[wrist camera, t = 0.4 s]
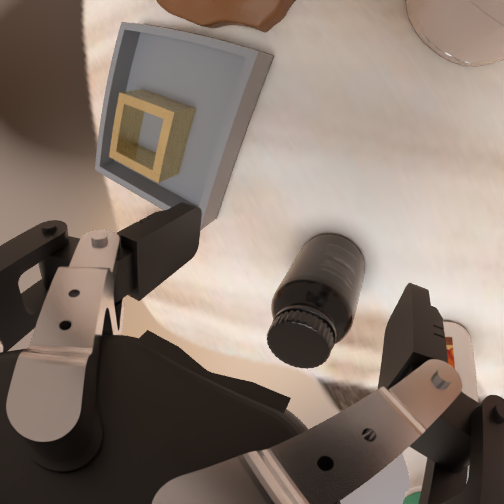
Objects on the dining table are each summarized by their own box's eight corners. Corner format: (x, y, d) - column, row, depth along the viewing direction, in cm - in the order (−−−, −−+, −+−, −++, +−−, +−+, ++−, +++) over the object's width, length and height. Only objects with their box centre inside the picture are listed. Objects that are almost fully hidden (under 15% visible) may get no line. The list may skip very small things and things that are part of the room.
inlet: (142, 89, 29) (119, 92, 26) (196, 108, 28) (174, 112, 25) (130, 149, 33) (109, 156, 31) (179, 173, 32) (158, 183, 30)
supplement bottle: (288, 245, 32) (235, 318, 23) (347, 221, 28) (318, 296, 19) (317, 299, 34) (280, 381, 24) (375, 281, 30) (358, 371, 20)
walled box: (143, 24, 26) (121, 22, 23) (273, 55, 24) (258, 51, 21) (114, 162, 37) (95, 169, 34) (216, 217, 34) (199, 231, 31)
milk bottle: (474, 316, 26) (488, 496, 11) (466, 365, 29) (461, 523, 13) (408, 320, 30) (382, 501, 14) (407, 369, 33) (378, 525, 17)
